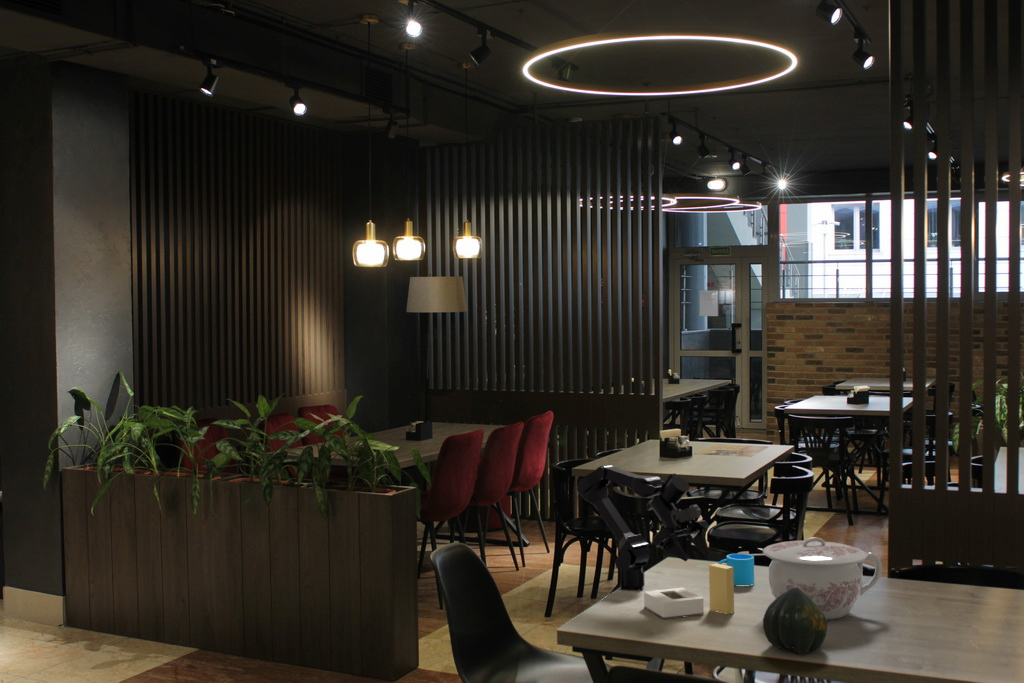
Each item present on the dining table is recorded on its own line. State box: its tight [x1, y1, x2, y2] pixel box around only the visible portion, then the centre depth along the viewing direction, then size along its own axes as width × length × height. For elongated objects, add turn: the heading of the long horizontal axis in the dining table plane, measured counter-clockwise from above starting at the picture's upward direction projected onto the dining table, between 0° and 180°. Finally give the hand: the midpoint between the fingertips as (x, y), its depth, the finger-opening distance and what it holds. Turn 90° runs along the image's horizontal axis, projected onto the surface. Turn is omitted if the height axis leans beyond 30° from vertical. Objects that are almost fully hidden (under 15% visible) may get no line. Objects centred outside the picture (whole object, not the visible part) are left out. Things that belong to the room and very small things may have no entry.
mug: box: [717, 553, 755, 585], centre depth 306 cm, size 12×8×8 cm
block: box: [708, 562, 735, 615], centre depth 276 cm, size 6×3×12 cm, turn 39°
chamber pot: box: [762, 536, 883, 621], centre depth 272 cm, size 28×28×21 cm
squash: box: [762, 587, 828, 655], centre depth 244 cm, size 14×15×15 cm
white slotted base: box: [643, 587, 705, 620], centre depth 277 cm, size 12×12×4 cm
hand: (697, 557), depth 283 cm, fingers open, 9 cm apart
